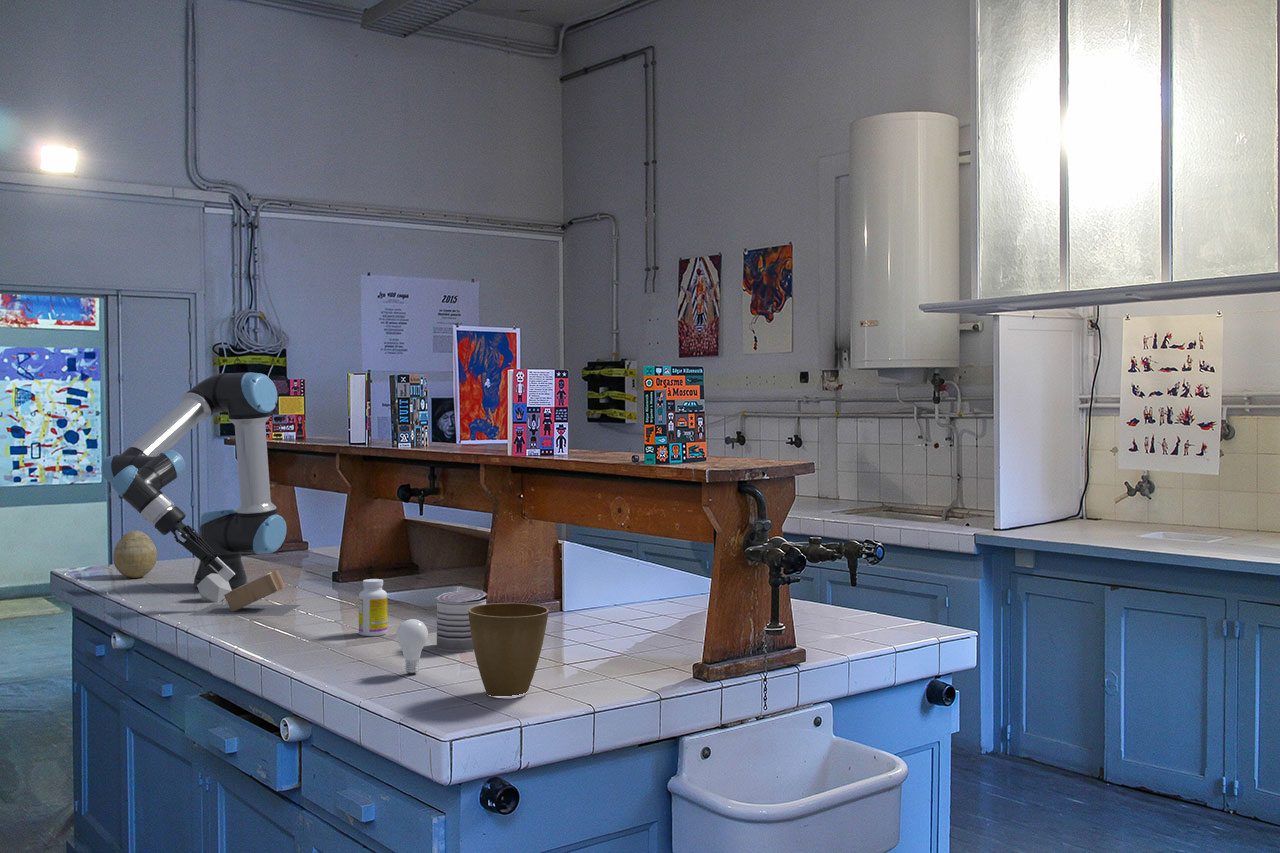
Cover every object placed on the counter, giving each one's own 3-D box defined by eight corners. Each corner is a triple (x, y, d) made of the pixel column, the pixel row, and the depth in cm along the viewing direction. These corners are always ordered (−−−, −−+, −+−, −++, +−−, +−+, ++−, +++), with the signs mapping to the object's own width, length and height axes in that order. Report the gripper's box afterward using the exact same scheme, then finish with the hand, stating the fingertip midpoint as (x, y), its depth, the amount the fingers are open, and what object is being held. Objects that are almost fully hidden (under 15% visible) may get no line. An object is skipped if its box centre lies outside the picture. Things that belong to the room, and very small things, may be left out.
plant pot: (481, 708, 191) (481, 618, 191) (458, 689, 205) (458, 605, 205) (559, 699, 198) (560, 612, 198) (532, 681, 211) (533, 600, 211)
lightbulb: (398, 670, 220) (398, 616, 220) (429, 670, 220) (429, 616, 220) (393, 677, 213) (393, 622, 213) (426, 677, 214) (426, 622, 214)
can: (494, 648, 241) (495, 595, 241) (447, 654, 235) (447, 599, 235) (474, 639, 251) (474, 588, 251) (427, 644, 245) (428, 592, 245)
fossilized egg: (145, 580, 338) (145, 533, 337) (105, 580, 338) (105, 532, 338) (164, 575, 350) (164, 528, 350) (125, 574, 350) (125, 528, 350)
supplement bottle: (392, 632, 259) (393, 579, 259) (377, 637, 252) (377, 582, 252) (368, 630, 261) (369, 577, 261) (352, 635, 255) (353, 581, 254)
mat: (212, 606, 293) (212, 604, 293) (301, 606, 293) (301, 604, 293) (188, 617, 277) (188, 615, 277) (282, 617, 277) (282, 615, 277)
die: (238, 603, 302) (232, 573, 306) (225, 592, 294) (219, 562, 299) (209, 614, 301) (204, 584, 305) (196, 603, 293) (190, 573, 298)
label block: (233, 589, 288) (277, 569, 288) (241, 607, 288) (285, 587, 288) (223, 594, 281) (268, 573, 281) (232, 612, 281) (277, 591, 282)
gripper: (159, 523, 287) (225, 584, 291) (146, 528, 275) (215, 592, 278) (181, 503, 288) (246, 564, 292) (168, 507, 276) (237, 571, 279)
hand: (231, 577), depth 285 cm, fingers closed
